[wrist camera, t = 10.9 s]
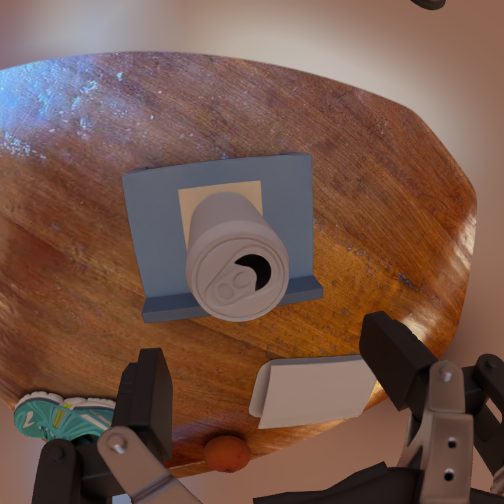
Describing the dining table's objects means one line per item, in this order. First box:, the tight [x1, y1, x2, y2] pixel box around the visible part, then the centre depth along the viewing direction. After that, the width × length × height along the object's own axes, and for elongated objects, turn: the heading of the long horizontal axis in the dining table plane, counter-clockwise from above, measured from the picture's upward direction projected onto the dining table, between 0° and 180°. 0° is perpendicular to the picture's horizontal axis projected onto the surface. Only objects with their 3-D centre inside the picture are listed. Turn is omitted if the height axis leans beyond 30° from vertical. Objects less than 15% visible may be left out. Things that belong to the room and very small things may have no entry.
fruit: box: [204, 435, 251, 473], centre depth 46 cm, size 9×9×8 cm
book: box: [249, 355, 377, 429], centre depth 45 cm, size 15×23×4 cm, turn 81°
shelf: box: [122, 152, 323, 323], centre depth 29 cm, size 14×18×9 cm
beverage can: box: [185, 192, 289, 322], centre depth 22 cm, size 6×6×12 cm
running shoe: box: [14, 391, 116, 446], centre depth 36 cm, size 11×29×11 cm, turn 99°
